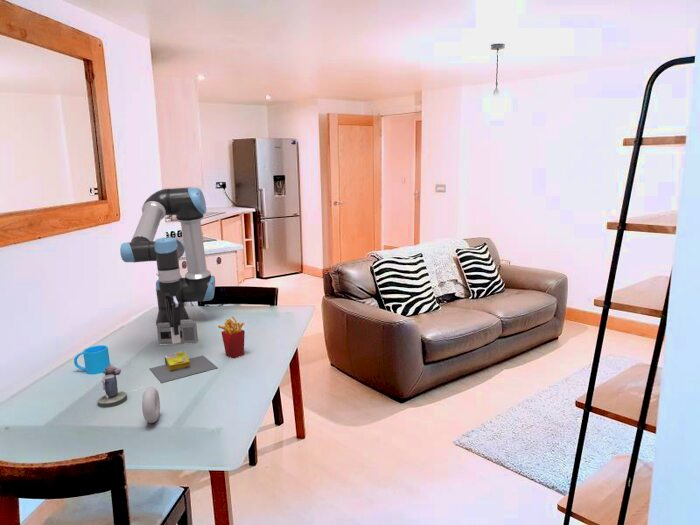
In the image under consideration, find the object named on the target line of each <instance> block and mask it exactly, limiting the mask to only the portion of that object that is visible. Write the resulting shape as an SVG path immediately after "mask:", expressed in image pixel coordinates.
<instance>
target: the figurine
mask: <svg viewBox="0 0 700 525" xmlns="http://www.w3.org/2000/svg"><path fill="white" fill-rule="evenodd" d="M121 373H122V369H121V368H119V367H116V366H114V365H110V366H107V367H106V368H105V371H103V373H102V374H103V376H102V377H103V378H102V380H101V382H102V390H103V391H105V395H102V396H101V397H99V398H98V399H97V401H96V402H97V406H98V407H99V408H103V409H104V408H106V409H107V408H114V407H117V406H120V405H122V404H124V403H126V401H127V400H128V394H127V392H125V391H119V389H118V380H117V376H120V375H121Z"/></svg>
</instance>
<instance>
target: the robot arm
mask: <svg viewBox="0 0 700 525" xmlns="http://www.w3.org/2000/svg"><path fill="white" fill-rule="evenodd" d="M206 213H207V203H206V198H205V196H204V194H203V191H202V189H201V188H199V187H177V188H176V187H175V188H164V189H160V190H157V191H156V192H154V193H152V194H151V195H150V196H148V198H147V199H146V200H145V201H144V203H143V205H142V207H141V216H140V219H139V221H138V224H137V226H136V229H135V231H134V234H133V236H132V239H131V241H130V242H129V241H127V242H123V243H121V245H120V247H119V248H120V250H119V251H120V252H119V253H120V256H121V257H120V258H121V260H122V261H123V262H124V263H144V262H146V263H147V262H156V268H157V273H156V276H157V277H158V279H157V280H156V282H155V291H156V292H155V293H156V300H157V307H158V308H157V309H158V311H157V315H156V321H155V323H156V324H155V325H156V326H157V324H158V323H170V327H171V336H172V343H173V344H175V343H180V342H181V340H180V330H179V325H181V320H191V319H190V318H191V317H190V316H189V314H188V311H187V309H186V307H185V303H192V302H193V303H194V302H206V301H212V300H213V299H214V297H215V289H216V278H215V275H213V274H211V271H210V270H209V269H207V262H206V260H207V259H206V253H205V246H204V245H205V244H204V237H203V231H202V230H203V229H202V222H201V221H202V220H203V219H204V214H206ZM166 216H175V218H176V221H178V222H180V227H181V235H182V241H181V240H180V239H178V238H175V237H172V236H171V237H159V238H156V237H155V236H156V235H157V232H158V228H159V226H160V224H161V220H163V219H164V218H165V217H166ZM155 238H156V239H155ZM184 254H185V262H186V270H187V272H186V273H185V275H184V277H183V275H181V269H180V261H179V260H180V258H182V257H183V255H184ZM175 345H176V344H175Z"/></svg>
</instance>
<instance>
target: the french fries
mask: <svg viewBox="0 0 700 525" xmlns="http://www.w3.org/2000/svg"><path fill="white" fill-rule="evenodd" d="M231 318H232V319H231ZM231 318H227V319H226V320H225V322H224V323H223V324H224V325H221V324H218V327H217V328H219V329H222V330H223V331H221V332H220V333H221V337H222V342H223V347H224V352H225V356H226V357H228V358H230V357H231V359H233V358H234V359H237V358H240V357H243V356H244V355H245V333H246V331H245V330H244V329H242V327H243V326H244V325H245V322H241V323H240V322H237V319H236V318H235V317H234V316H231ZM239 356H240V357H239ZM236 357H237V358H236Z"/></svg>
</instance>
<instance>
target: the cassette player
mask: <svg viewBox="0 0 700 525" xmlns="http://www.w3.org/2000/svg"><path fill="white" fill-rule="evenodd" d="M179 330H180V340H181V342H180V343H175V345H185V344H184V343H192V344H198V342H199V335H198V325H197V320H193V318H192V319H190V320H181V325H179ZM156 331H157V340H158V345H159V344H173V343H172V336H171V327H170V323H158V324H157V327H156Z"/></svg>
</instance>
